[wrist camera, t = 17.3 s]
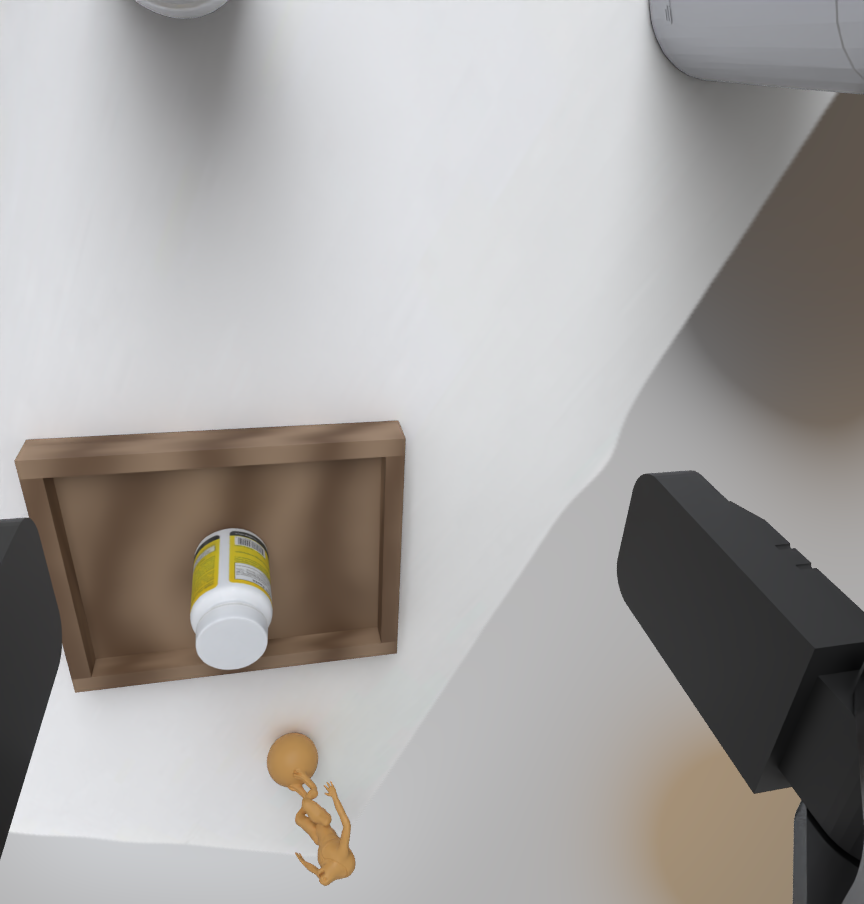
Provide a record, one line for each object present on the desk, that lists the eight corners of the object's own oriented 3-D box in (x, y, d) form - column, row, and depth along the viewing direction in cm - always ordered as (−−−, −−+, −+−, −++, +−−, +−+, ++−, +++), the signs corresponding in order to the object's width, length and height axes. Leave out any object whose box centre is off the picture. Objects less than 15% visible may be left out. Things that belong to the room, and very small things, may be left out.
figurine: (280, 701, 56) (288, 845, 46) (353, 707, 59) (376, 846, 48) (254, 772, 60) (256, 922, 50) (324, 775, 62) (339, 920, 52)
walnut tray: (398, 420, 47) (405, 438, 45) (391, 629, 55) (396, 653, 53) (26, 439, 42) (14, 460, 40) (82, 665, 51) (75, 692, 48)
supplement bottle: (201, 589, 49) (195, 682, 42) (187, 532, 46) (178, 621, 39) (273, 576, 50) (279, 666, 42) (263, 520, 47) (268, 605, 40)
